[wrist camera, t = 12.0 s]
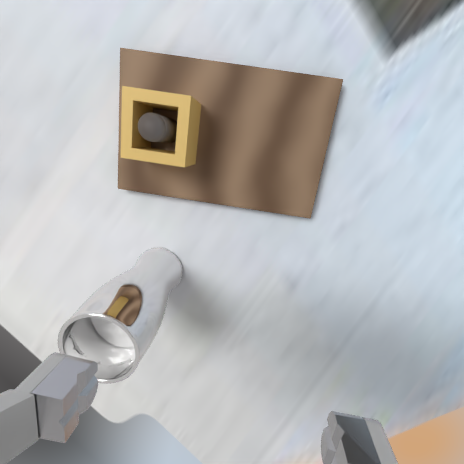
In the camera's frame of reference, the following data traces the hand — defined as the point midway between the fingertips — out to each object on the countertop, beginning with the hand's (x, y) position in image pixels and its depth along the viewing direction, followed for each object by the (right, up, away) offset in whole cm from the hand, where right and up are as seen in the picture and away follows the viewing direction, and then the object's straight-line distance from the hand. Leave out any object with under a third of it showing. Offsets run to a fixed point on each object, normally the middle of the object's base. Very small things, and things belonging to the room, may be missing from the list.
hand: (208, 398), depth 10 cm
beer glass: (-8, +1, +27) cm, 28 cm away
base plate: (0, +16, +21) cm, 26 cm away
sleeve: (-6, +16, +20) cm, 26 cm away
